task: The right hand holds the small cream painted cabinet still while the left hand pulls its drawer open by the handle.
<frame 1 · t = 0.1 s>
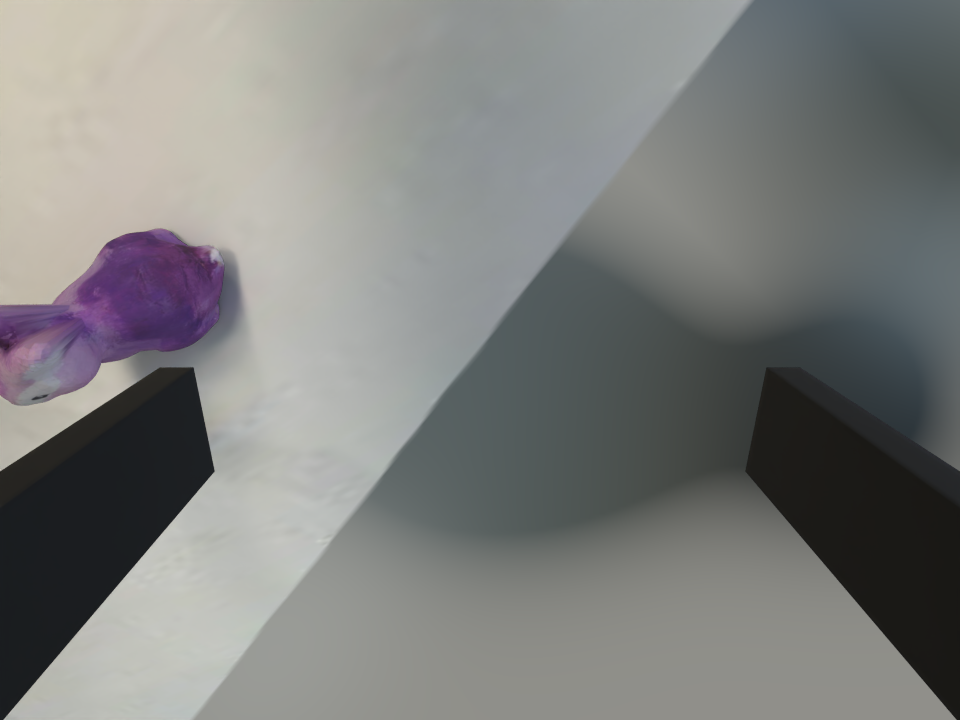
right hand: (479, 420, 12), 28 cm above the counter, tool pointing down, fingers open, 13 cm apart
figurine: (169, 295, 40), on the counter
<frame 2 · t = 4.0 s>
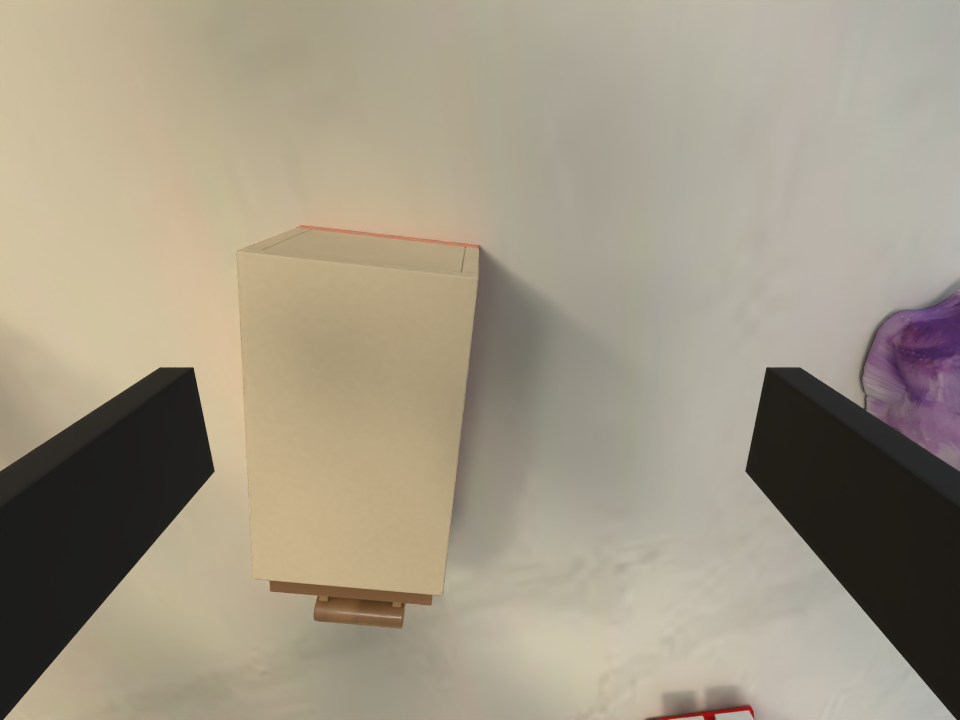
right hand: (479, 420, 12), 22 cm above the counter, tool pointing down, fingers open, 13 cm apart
figurine: (919, 368, 35), on the counter
cabinet: (383, 375, 35), on the counter
drawer: (367, 477, 33), point 5 cm above the counter, slide at 0.5 cm
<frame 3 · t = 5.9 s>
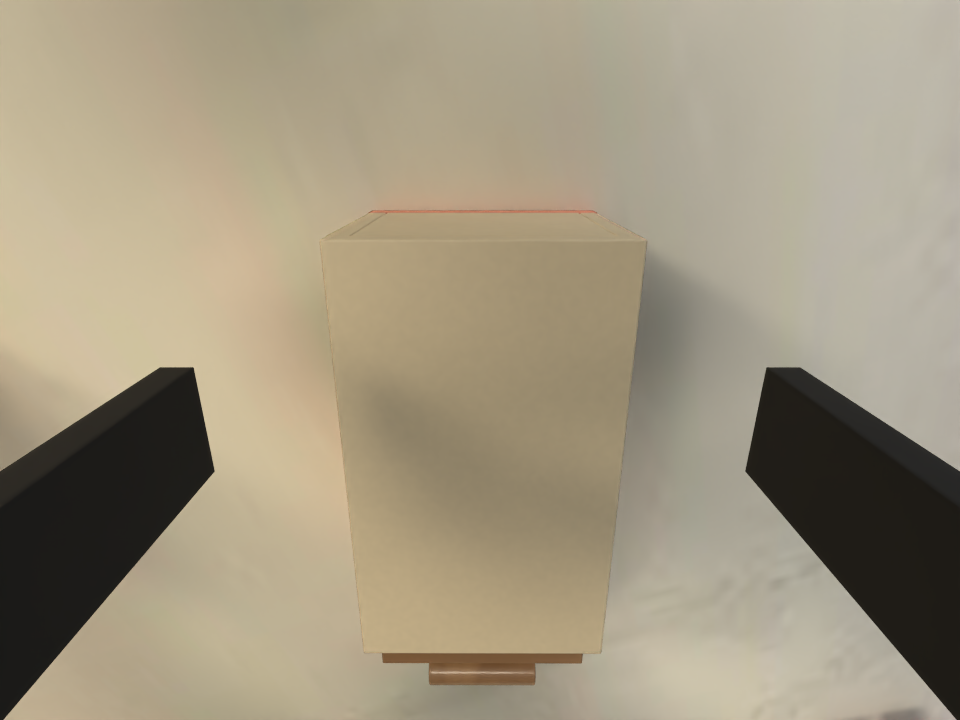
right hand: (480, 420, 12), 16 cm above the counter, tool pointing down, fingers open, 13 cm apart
cabinet: (482, 384, 29), on the counter
drawer: (482, 511, 27), point 5 cm above the counter, slide at 0.5 cm
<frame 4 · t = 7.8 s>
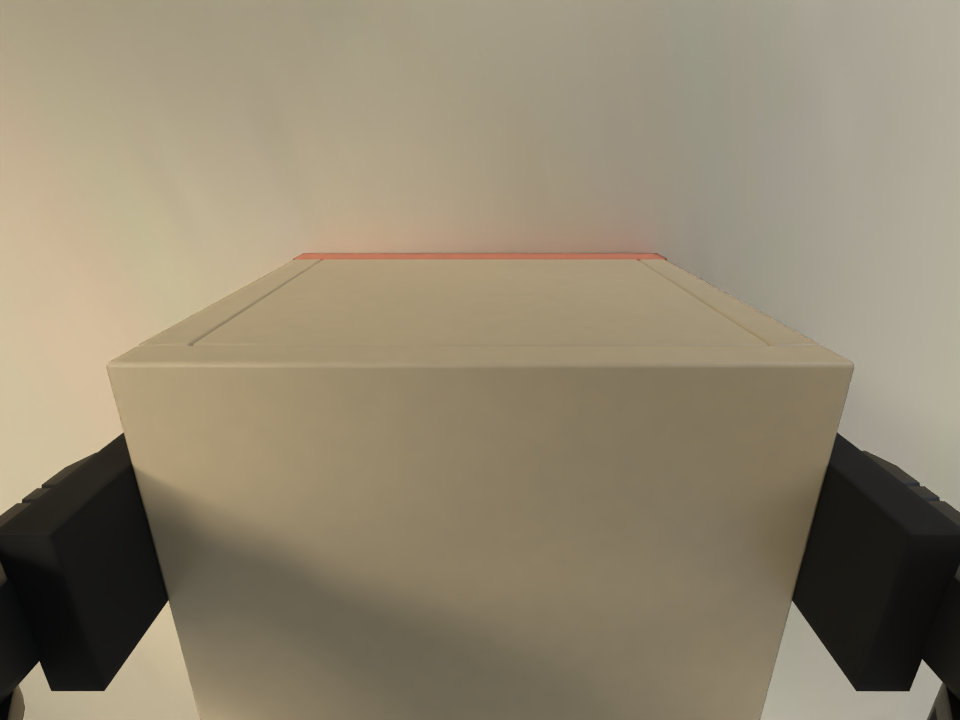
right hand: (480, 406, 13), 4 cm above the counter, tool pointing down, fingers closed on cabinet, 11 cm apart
cabinet: (480, 507, 19), on the counter, touching right hand
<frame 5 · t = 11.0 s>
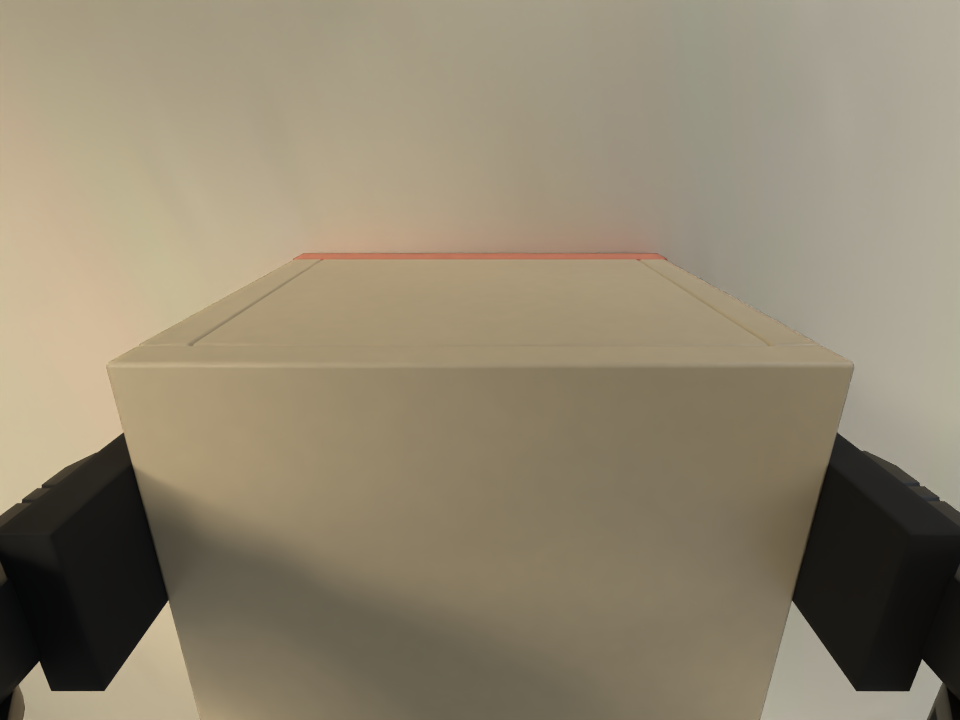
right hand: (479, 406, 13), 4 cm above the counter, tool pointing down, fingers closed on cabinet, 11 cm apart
cabinet: (480, 507, 19), on the counter, touching right hand
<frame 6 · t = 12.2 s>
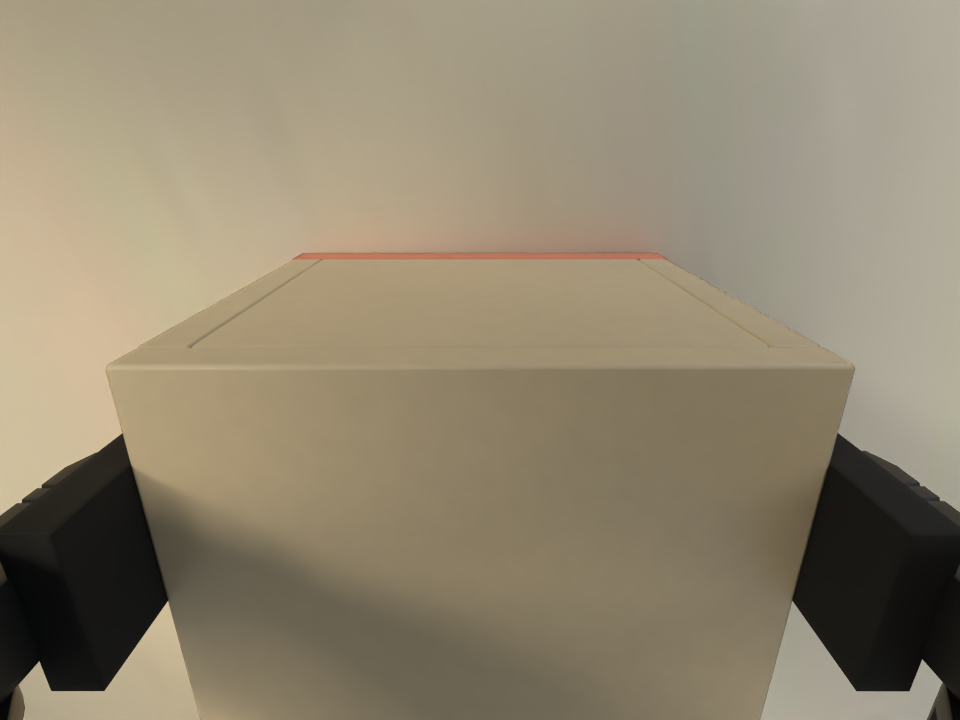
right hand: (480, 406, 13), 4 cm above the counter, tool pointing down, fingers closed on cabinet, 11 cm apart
cabinet: (480, 507, 19), on the counter, touching right hand
when the right hand's fingers open (4 cm above the counter, at t = 14.1 s): cabinet stays where it is, on the counter.
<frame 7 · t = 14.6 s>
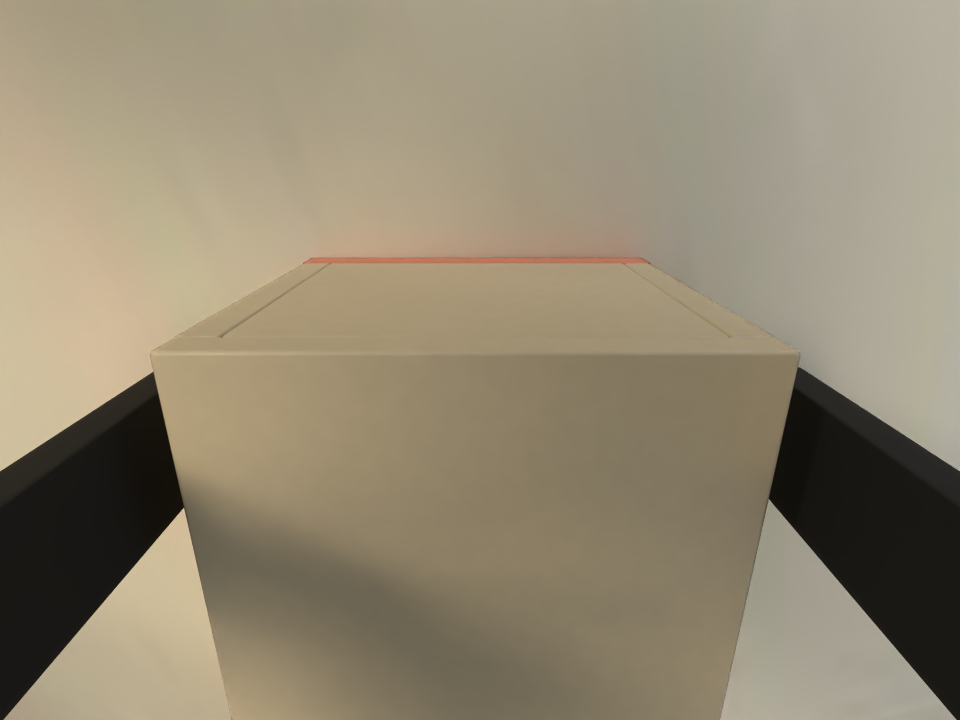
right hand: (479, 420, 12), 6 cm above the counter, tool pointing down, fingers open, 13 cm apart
cabinet: (477, 498, 21), on the counter
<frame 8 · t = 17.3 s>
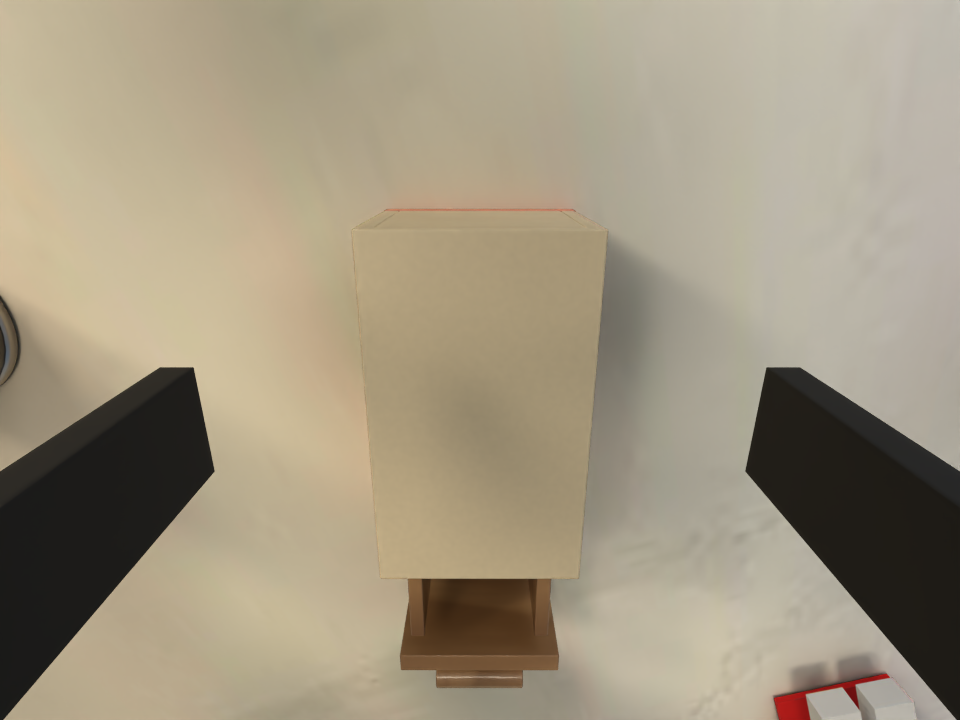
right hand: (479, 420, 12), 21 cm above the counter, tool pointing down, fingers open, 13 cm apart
cabinet: (479, 358, 34), on the counter
drawer: (479, 548, 34), point 5 cm above the counter, slide at 6.6 cm
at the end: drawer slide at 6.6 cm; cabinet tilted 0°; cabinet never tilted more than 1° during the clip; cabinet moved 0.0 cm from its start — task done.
